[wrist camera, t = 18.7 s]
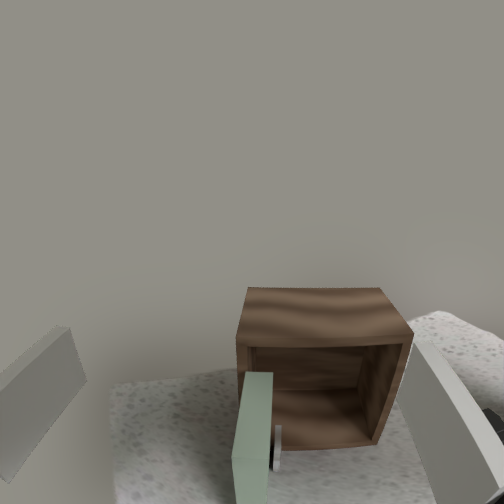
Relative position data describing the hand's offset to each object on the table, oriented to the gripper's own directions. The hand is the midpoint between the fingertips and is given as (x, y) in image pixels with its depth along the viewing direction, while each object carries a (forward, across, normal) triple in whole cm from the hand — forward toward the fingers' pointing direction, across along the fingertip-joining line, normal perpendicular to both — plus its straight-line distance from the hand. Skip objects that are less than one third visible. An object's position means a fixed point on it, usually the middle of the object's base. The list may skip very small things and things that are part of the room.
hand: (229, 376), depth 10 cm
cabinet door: (+12, 0, -30) cm, 32 cm away
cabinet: (+24, +7, -30) cm, 39 cm away
